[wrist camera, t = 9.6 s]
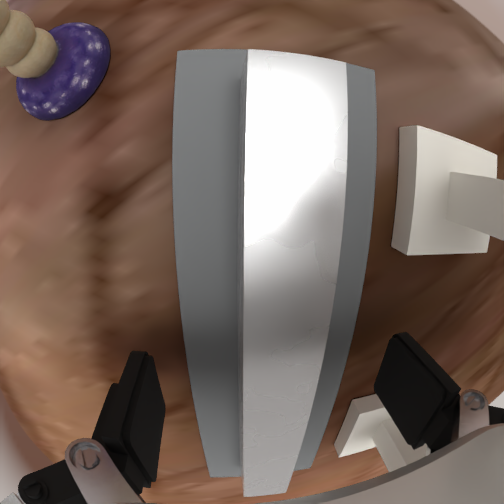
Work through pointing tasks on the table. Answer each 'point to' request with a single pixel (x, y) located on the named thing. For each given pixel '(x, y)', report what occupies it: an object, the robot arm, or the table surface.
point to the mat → (226, 245)
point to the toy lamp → (52, 63)
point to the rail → (286, 250)
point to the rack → (429, 249)
